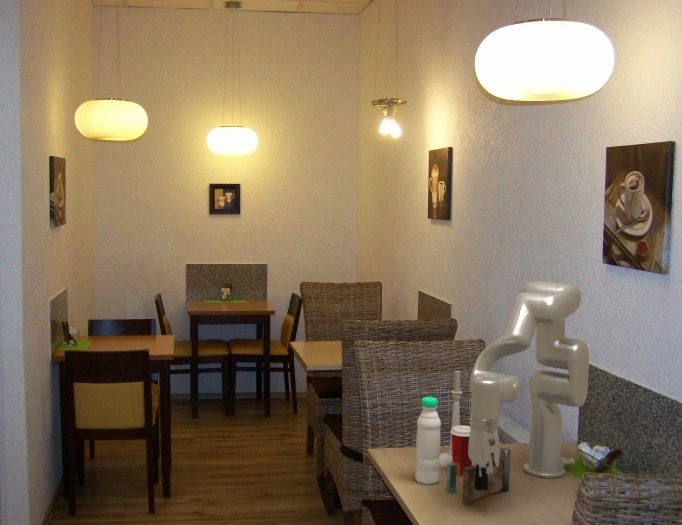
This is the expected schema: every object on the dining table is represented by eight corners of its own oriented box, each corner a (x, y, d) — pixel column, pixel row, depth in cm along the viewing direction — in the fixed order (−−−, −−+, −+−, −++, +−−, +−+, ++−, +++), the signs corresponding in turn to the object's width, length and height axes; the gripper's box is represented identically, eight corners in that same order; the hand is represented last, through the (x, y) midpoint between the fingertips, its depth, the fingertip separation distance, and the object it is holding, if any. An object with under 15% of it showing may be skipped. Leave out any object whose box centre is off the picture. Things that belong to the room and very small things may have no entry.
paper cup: (476, 470, 253) (478, 426, 251) (472, 478, 245) (473, 433, 244) (451, 467, 255) (453, 423, 254) (446, 475, 248) (448, 430, 247)
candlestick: (437, 454, 268) (440, 364, 266) (476, 458, 265) (480, 367, 262) (431, 466, 256) (434, 372, 253) (472, 471, 252) (475, 375, 250)
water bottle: (437, 486, 239) (440, 402, 236) (413, 483, 240) (416, 400, 238) (439, 477, 246) (442, 396, 243) (416, 475, 247) (419, 394, 245)
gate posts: (506, 488, 238) (508, 447, 237) (510, 491, 235) (512, 451, 234) (446, 490, 235) (447, 449, 234) (449, 493, 233) (450, 452, 232)
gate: (497, 487, 236) (498, 456, 235) (502, 489, 234) (504, 458, 234) (461, 500, 225) (462, 468, 224) (467, 502, 224) (468, 470, 223)
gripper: (509, 430, 215) (506, 498, 216) (484, 415, 229) (480, 479, 231) (484, 431, 213) (480, 500, 214) (459, 416, 227) (456, 481, 229)
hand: (480, 489), depth 222 cm, fingers closed
